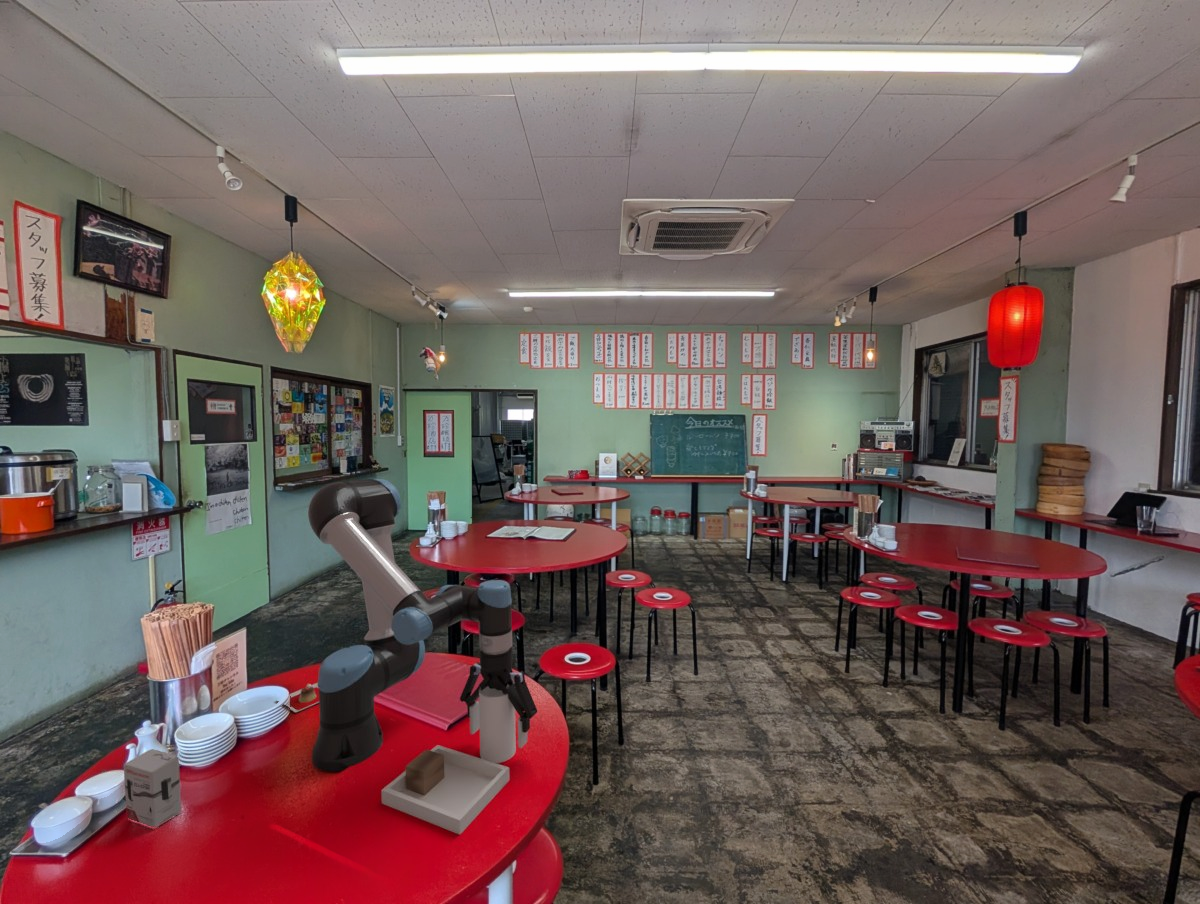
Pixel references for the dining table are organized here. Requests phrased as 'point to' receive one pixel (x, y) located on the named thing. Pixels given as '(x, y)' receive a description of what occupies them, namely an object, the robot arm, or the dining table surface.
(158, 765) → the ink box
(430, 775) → the walnut block
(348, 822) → the dining table surface
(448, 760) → the tray
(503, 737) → the cup
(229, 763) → the dining table surface
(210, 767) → the dining table surface
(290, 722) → the dining table surface
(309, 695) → the dessert
